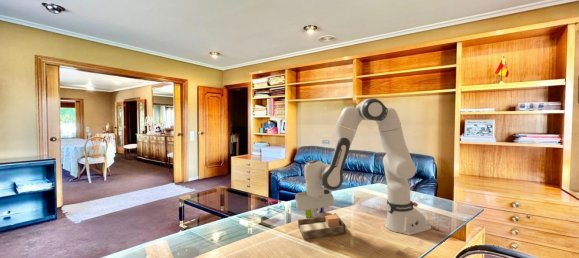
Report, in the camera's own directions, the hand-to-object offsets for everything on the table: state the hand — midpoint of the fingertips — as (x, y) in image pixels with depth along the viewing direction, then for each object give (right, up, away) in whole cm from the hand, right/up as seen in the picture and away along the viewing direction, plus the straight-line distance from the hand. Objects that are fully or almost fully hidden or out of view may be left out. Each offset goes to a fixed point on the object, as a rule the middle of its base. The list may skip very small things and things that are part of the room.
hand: (316, 215), depth 137 cm
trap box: (+3, -8, +1) cm, 9 cm away
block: (+9, -5, +2) cm, 11 cm away
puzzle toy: (+2, -7, +22) cm, 23 cm away
